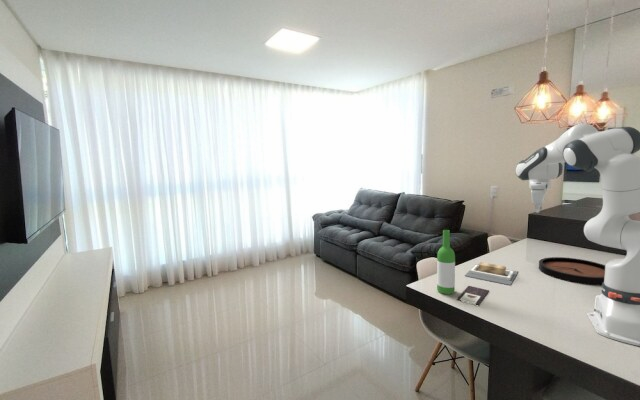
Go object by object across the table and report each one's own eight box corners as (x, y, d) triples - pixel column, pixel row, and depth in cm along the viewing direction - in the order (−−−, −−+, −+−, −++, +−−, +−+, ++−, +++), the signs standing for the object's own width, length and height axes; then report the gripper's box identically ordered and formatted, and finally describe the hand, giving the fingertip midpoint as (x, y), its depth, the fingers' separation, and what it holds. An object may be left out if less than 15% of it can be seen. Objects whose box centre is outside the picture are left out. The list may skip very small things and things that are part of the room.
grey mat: (510, 285, 146) (510, 281, 146) (464, 276, 160) (464, 272, 159) (517, 272, 162) (518, 268, 162) (475, 264, 176) (475, 261, 176)
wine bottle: (434, 288, 146) (434, 229, 142) (449, 287, 146) (450, 228, 143) (441, 295, 138) (442, 232, 134) (457, 294, 139) (458, 231, 135)
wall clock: (628, 269, 150) (600, 283, 136) (628, 277, 151) (599, 291, 137) (556, 253, 178) (526, 263, 164) (556, 260, 179) (526, 270, 164)
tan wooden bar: (478, 272, 163) (478, 264, 162) (480, 270, 166) (480, 262, 166) (503, 277, 155) (504, 269, 154) (505, 274, 158) (505, 266, 158)
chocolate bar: (488, 290, 141) (478, 304, 127) (488, 292, 141) (478, 306, 127) (468, 285, 147) (456, 298, 133) (468, 287, 147) (456, 300, 133)
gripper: (534, 182, 163) (533, 207, 165) (529, 186, 148) (528, 213, 150) (549, 183, 159) (547, 208, 161) (545, 186, 144) (543, 214, 146)
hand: (538, 210), depth 155 cm, fingers open, 8 cm apart
